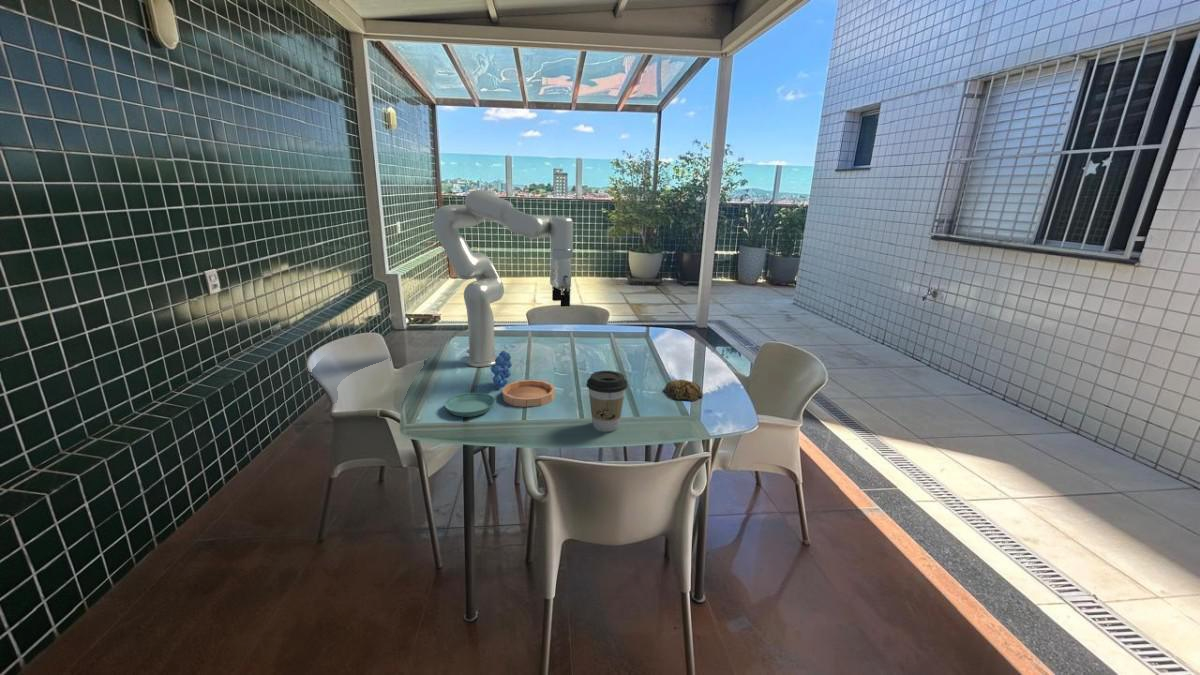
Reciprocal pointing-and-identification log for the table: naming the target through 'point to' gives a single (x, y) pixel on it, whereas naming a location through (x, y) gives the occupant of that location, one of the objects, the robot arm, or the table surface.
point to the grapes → (501, 369)
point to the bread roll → (683, 390)
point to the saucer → (470, 404)
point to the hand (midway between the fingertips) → (560, 303)
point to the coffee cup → (606, 399)
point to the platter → (528, 393)
